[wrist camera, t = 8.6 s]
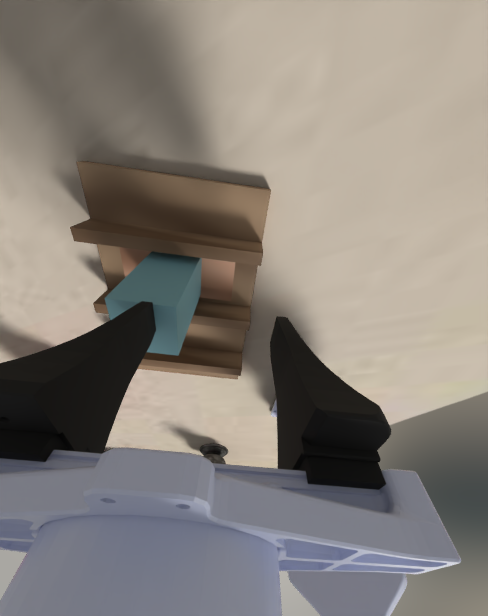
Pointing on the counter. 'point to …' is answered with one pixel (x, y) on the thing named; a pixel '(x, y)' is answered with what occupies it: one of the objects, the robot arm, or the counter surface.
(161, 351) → the plug block
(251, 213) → the slot rack
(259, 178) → the counter surface
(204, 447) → the dark grey tall piece
